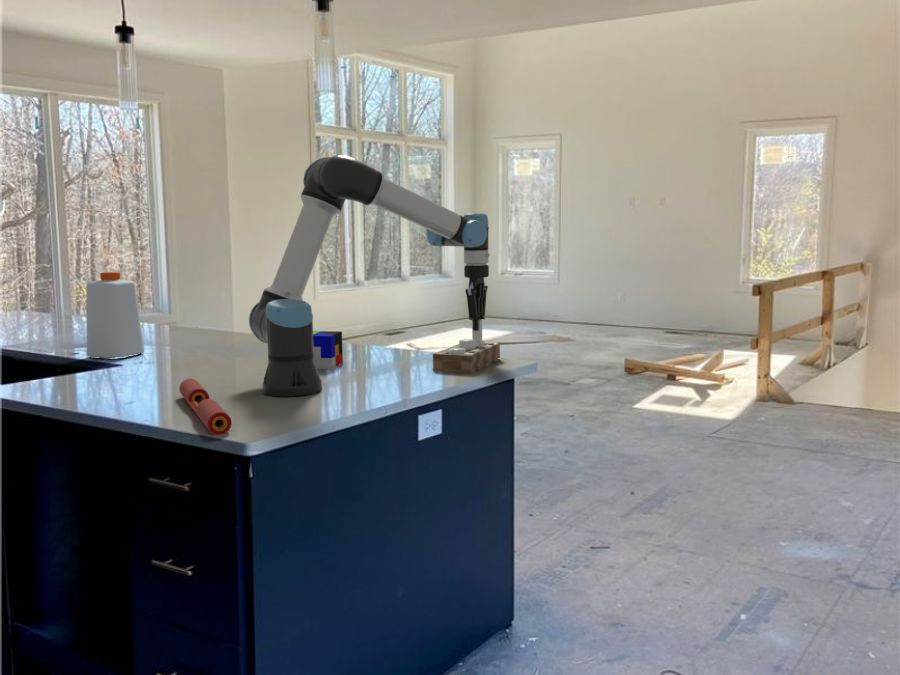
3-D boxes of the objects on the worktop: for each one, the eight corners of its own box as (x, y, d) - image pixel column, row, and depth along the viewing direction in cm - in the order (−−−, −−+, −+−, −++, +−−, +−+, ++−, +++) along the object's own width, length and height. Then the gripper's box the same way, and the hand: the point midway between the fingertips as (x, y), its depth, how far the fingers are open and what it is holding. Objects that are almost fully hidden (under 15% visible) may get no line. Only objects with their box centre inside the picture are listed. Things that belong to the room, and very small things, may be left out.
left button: (461, 365, 237) (461, 350, 236) (446, 364, 238) (445, 350, 238) (468, 362, 241) (468, 348, 240) (452, 361, 243) (452, 347, 242)
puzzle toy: (331, 369, 244) (330, 336, 243) (300, 368, 246) (299, 335, 245) (342, 363, 254) (341, 331, 253) (312, 362, 256) (311, 331, 255)
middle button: (472, 356, 244) (472, 342, 243) (456, 355, 246) (456, 341, 245) (478, 353, 248) (478, 339, 248) (463, 352, 250) (462, 338, 249)
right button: (481, 356, 251) (481, 342, 250) (466, 355, 253) (466, 342, 252) (487, 354, 256) (487, 340, 255) (472, 353, 258) (472, 339, 257)
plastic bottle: (81, 358, 269) (74, 273, 265) (114, 351, 283) (108, 270, 279) (117, 360, 264) (111, 274, 260) (150, 353, 278) (144, 271, 274)
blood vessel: (179, 398, 208) (178, 379, 207) (200, 396, 210) (199, 377, 209) (208, 437, 170) (206, 413, 169) (232, 434, 172) (231, 410, 172)
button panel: (471, 373, 234) (471, 353, 233) (433, 370, 239) (432, 351, 238) (499, 359, 256) (499, 341, 255) (464, 357, 261) (464, 340, 260)
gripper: (480, 265, 243) (481, 344, 246) (495, 263, 255) (496, 338, 258) (456, 265, 246) (458, 343, 249) (472, 263, 258) (473, 337, 261)
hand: (477, 340), depth 254 cm, fingers closed
